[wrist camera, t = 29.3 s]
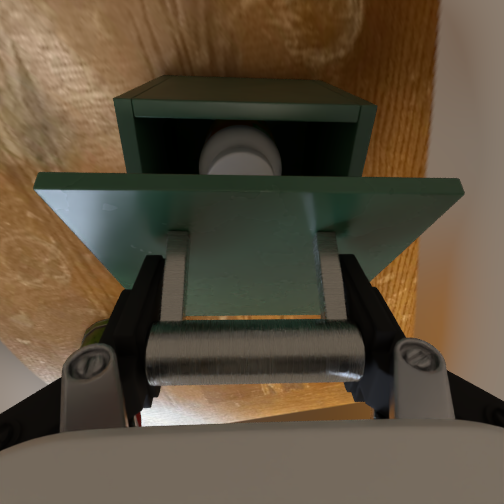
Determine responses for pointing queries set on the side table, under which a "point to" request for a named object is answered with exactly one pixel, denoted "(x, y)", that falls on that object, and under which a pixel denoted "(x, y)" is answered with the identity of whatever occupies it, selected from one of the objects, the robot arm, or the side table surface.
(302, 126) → the bin
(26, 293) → the side table surface
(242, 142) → the supplement bottle
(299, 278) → the bin lid
